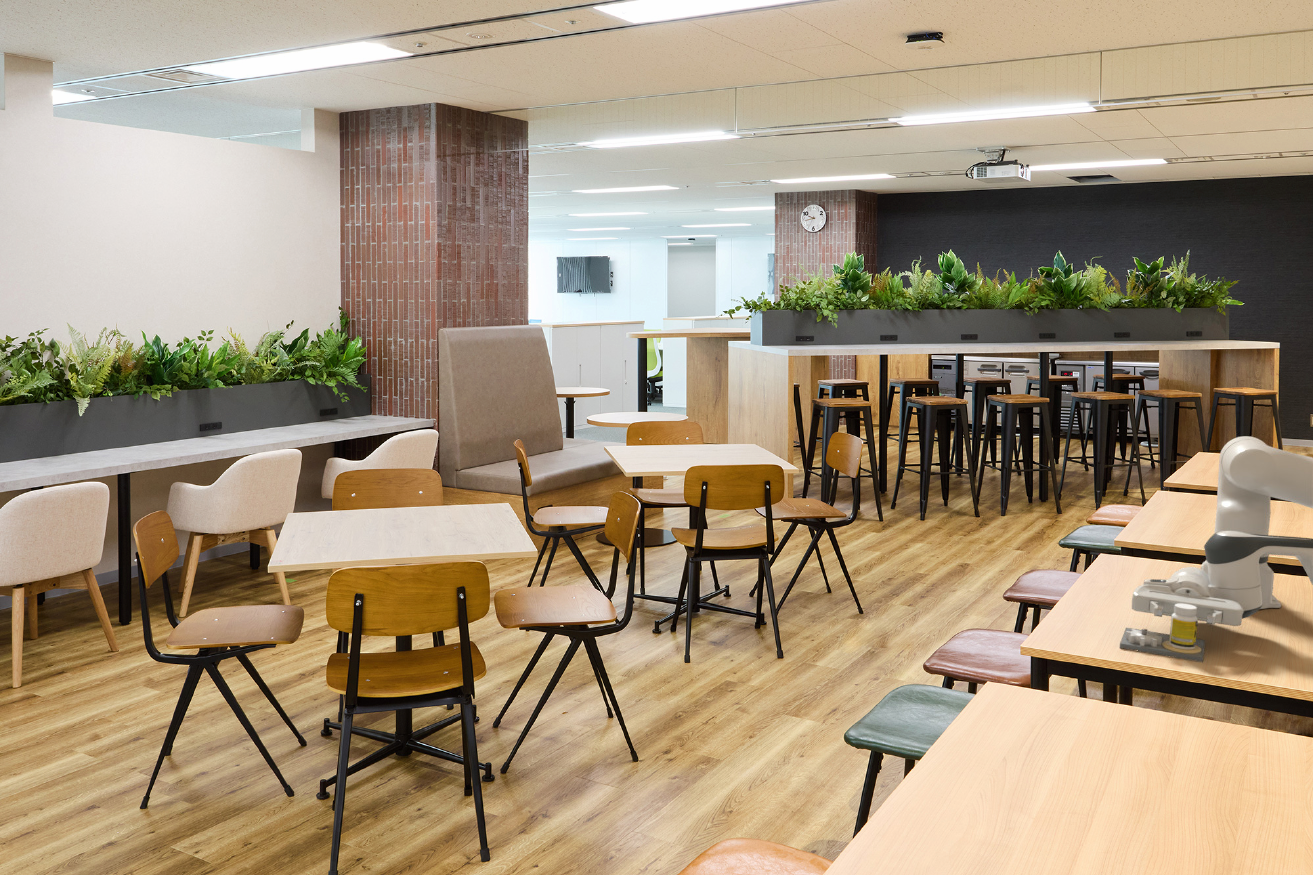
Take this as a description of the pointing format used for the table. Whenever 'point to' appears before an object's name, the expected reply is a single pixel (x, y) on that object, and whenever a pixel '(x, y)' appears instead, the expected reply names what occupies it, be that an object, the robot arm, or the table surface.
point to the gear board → (1159, 644)
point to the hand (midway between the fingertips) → (1184, 616)
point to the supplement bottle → (1183, 627)
